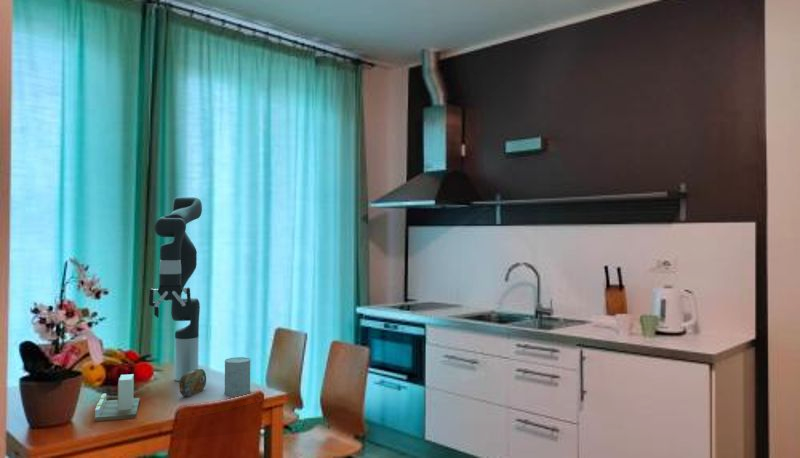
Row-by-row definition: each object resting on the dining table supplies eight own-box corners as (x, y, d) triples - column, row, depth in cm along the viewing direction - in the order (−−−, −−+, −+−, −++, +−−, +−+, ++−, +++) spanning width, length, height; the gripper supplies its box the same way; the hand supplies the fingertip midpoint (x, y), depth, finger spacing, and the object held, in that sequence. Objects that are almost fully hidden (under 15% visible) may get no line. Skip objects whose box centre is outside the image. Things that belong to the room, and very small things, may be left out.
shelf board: (102, 404, 208) (102, 400, 208) (139, 401, 212) (139, 397, 212) (94, 421, 189) (94, 417, 189) (135, 417, 194) (135, 413, 194)
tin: (185, 399, 216) (185, 376, 216) (177, 398, 216) (177, 375, 216) (206, 388, 230) (207, 367, 230) (199, 388, 231) (199, 366, 231)
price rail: (102, 400, 208) (102, 393, 208) (106, 400, 209) (106, 392, 209) (94, 417, 189) (94, 409, 189) (99, 417, 190) (99, 408, 190)
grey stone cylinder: (255, 392, 225) (255, 360, 225) (232, 397, 218) (232, 363, 218) (242, 387, 232) (242, 356, 232) (219, 392, 225) (219, 359, 225)
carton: (133, 402, 206) (133, 374, 206) (131, 409, 199) (131, 379, 199) (119, 403, 205) (120, 374, 205) (117, 410, 197) (117, 380, 197)
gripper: (190, 271, 223) (190, 314, 223) (149, 272, 218) (149, 316, 218) (191, 272, 216) (190, 317, 216) (148, 273, 211) (148, 319, 211)
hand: (170, 316), depth 217 cm, fingers open, 8 cm apart
